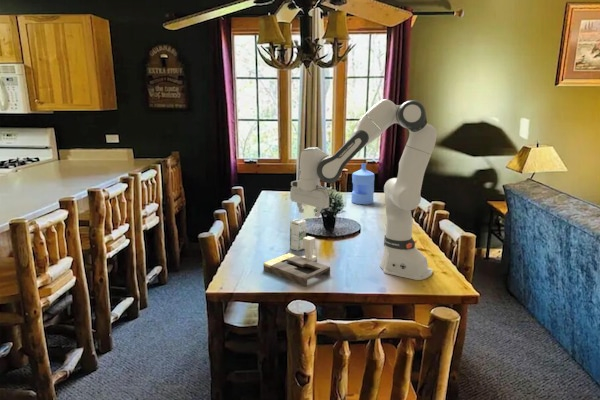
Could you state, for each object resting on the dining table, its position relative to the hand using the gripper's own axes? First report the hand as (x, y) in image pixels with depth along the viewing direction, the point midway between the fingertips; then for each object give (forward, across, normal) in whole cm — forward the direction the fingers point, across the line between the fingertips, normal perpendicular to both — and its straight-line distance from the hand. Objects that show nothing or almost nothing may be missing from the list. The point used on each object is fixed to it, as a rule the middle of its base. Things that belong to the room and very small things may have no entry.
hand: (309, 214), depth 188 cm
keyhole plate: (+22, -5, +14) cm, 26 cm away
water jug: (+22, +43, -109) cm, 119 cm away
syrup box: (+22, +14, -8) cm, 27 cm away
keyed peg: (+22, 0, 0) cm, 22 cm away
